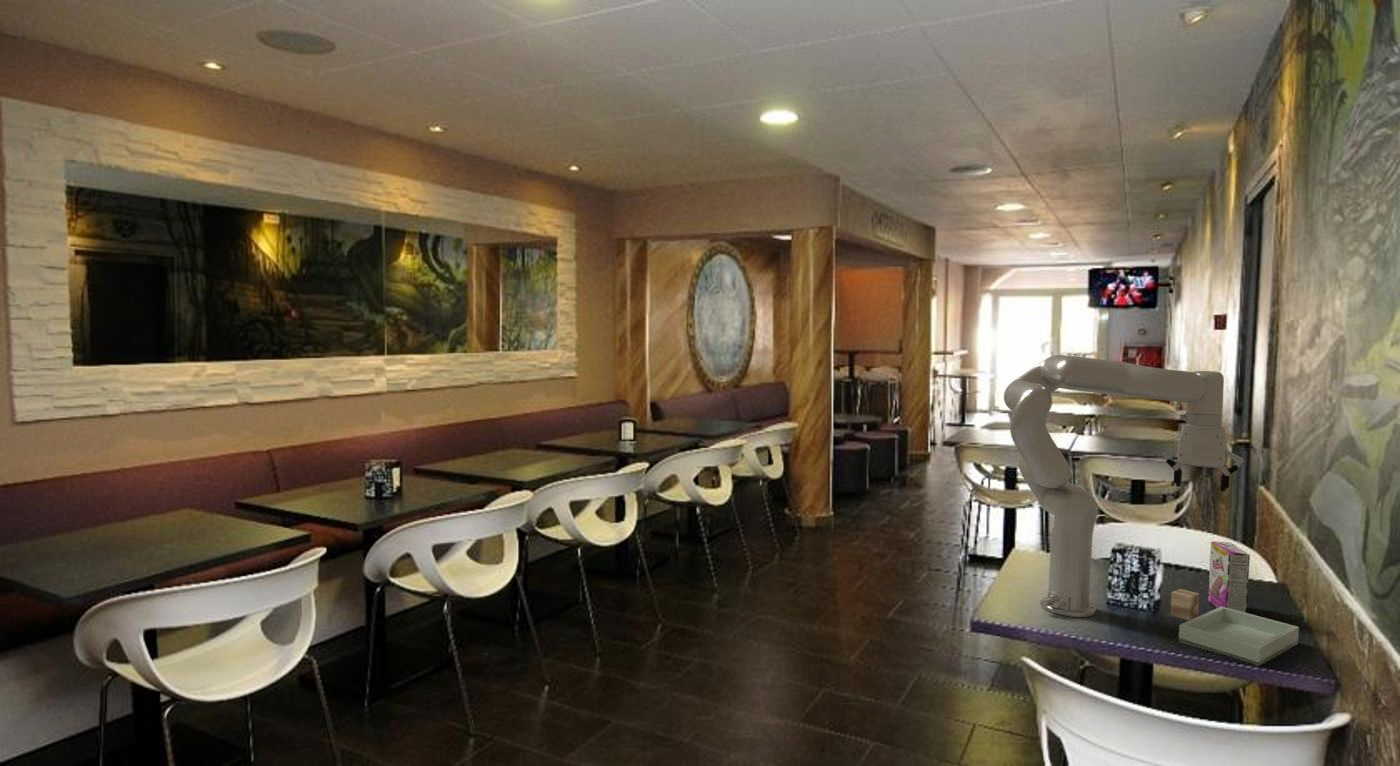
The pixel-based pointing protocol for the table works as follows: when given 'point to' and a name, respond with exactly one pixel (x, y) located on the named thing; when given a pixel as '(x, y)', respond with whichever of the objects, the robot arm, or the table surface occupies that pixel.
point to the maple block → (1184, 604)
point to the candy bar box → (1228, 576)
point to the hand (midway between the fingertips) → (1200, 488)
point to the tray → (1239, 635)
